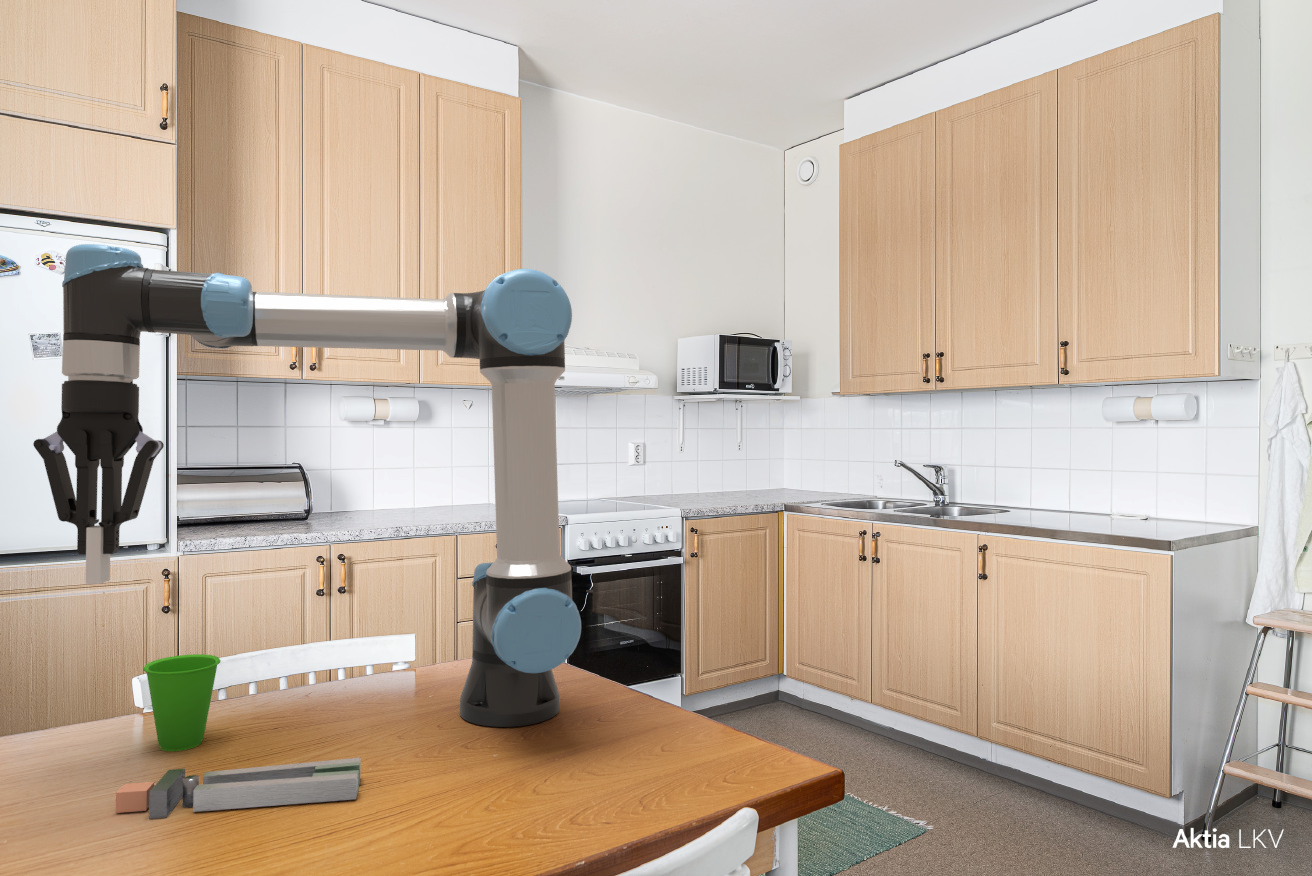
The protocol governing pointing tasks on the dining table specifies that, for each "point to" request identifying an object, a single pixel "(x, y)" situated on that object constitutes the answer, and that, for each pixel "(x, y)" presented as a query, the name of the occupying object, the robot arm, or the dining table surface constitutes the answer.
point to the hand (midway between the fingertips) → (97, 581)
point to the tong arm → (282, 771)
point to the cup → (181, 698)
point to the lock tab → (133, 797)
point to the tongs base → (248, 792)
